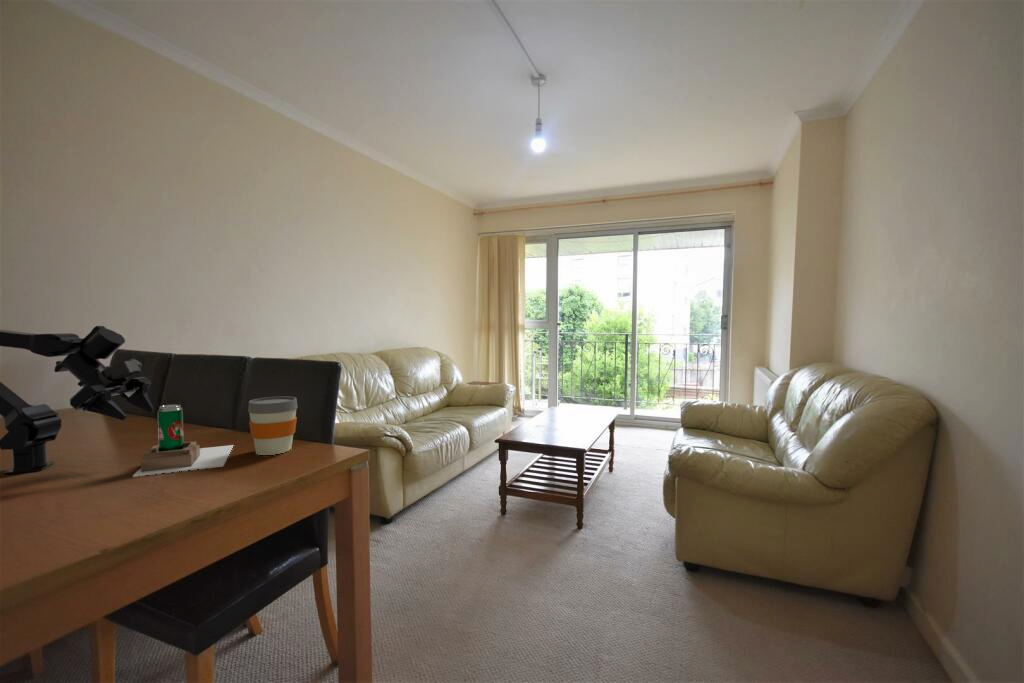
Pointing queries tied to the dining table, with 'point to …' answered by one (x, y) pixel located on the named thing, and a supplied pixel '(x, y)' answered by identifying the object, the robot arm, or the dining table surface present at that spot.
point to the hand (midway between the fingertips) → (139, 414)
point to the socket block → (170, 457)
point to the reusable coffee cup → (272, 424)
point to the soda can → (170, 428)
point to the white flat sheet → (198, 461)
